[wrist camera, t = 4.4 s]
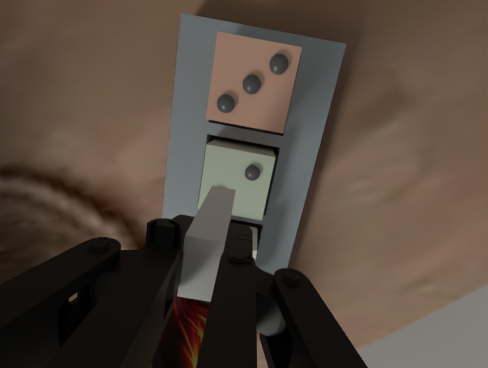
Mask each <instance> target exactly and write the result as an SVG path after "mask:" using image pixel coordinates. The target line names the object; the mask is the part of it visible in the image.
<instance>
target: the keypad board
mask: <svg viewBox="0 0 488 368" xmlns="http://www.w3.org/2000/svg"><path fill="white" fill-rule="evenodd" d="M217 31H218V32H223V33H228V34H234V35H239V36H244V37H250V38H255V39H261V40H266V41H271V42H277V43H282V44H287V45H293V46H298V47H302V50H301V55H300V59H299V64H298V68H297V73H296V77H295V82H294V86H293V91H292V96H291V100H290V105H289V109H288V114H287V118H286V123H285V127H284V132H283V133H281V134H279V133H274V132H269V131H263V130H258V129H253V128H247V127H242V126H237V125H231V124H226V123H221V122H215V121H214V120H208V119H206V114H207V107H208V99H209V91H210V84H211V76H212V68H213V61H214V53H215V45H216V38H217ZM346 45H347V44H345V43H340V42H335V41H329V40H324V39H319V38H313V37H308V36H302V35H297V34H292V33H286V32H281V31H276V30H270V29H265V28H260V27H254V26H249V25H244V24H238V23H233V22H227V21H222V20H217V19H211V18H206V17H201V16H195V15H190V14H185V13H181V16H180V27H179V38H178V49H177V60H176V71H175V82H174V92H173V103H172V114H171V125H170V136H169V147H168V158H167V169H166V179H165V190H164V201H163V212H162V218H167V219H173V218H174V217H176V216H178V215H180V214H182V215H188V216H193V217H195V216H196V214H197V212H198V211H199V209H198V203H199V196H200V189H201V181H202V174H203V166H204V159H205V152H206V144H208V143H209V142H211V136H212V135H215V136H220V137H226V138H231V139H236V140H242V141H247V142H252V143H258V144H263V145H268V146H274V147H278V148H277V153H276V158H275V162H274V167H273V171H272V176H271V181H270V185H269V190H268V194H267V199H266V204H265V208H264V213H263V217H262V221H261V220H256V219H251V218H245V217H240V216H234V215H231V219H234V220H239V221H244V222H250V223H255V224H260V225H261V226H260V231H259V235H258V240H257V254H256V259H255V265H256V266H257V267H258V268H260V269H261V270H263V271H265V272H267V273H270V274H272V275H274V273H275V271H277V270H278V269H281V268H287V267H288V263H289V260H290V256H291V252H292V248H293V244H294V241H295V237H296V233H297V229H298V226H299V222H300V218H301V214H302V211H303V207H304V203H305V199H306V195H307V192H308V188H309V184H310V180H311V177H312V173H313V169H314V165H315V162H316V158H317V154H318V150H319V147H320V143H321V139H322V135H323V131H324V128H325V124H326V120H327V116H328V113H329V109H330V105H331V101H332V98H333V94H334V90H335V86H336V83H337V79H338V75H339V71H340V67H341V64H342V60H343V56H344V52H345V49H346Z"/></svg>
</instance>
